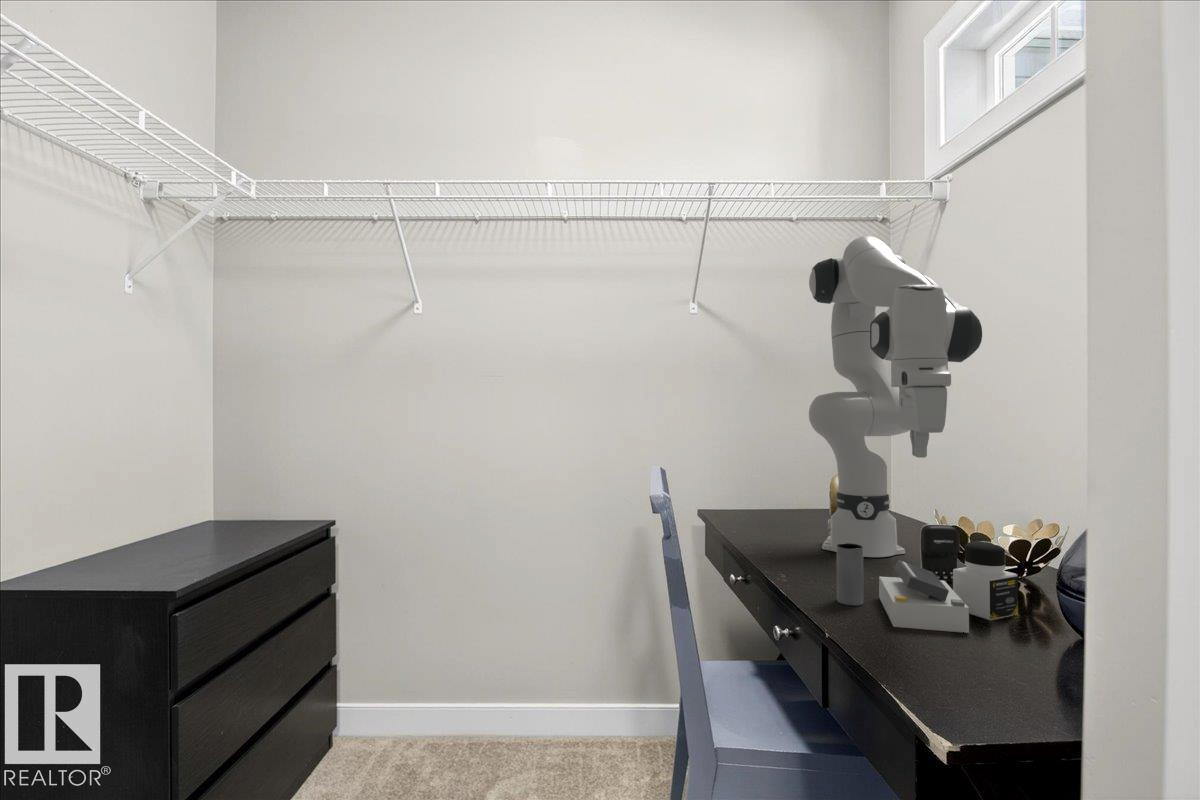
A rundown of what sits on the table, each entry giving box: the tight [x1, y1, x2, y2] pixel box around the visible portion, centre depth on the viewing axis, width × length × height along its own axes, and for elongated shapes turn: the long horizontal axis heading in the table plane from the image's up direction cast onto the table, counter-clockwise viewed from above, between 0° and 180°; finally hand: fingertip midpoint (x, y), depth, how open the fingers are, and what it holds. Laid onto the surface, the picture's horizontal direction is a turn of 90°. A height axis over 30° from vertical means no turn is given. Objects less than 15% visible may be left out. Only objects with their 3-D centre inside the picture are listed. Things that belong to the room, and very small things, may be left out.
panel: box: [878, 575, 970, 634], centre depth 112 cm, size 16×11×5 cm
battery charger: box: [919, 523, 961, 583], centre depth 132 cm, size 7×4×11 cm, turn 81°
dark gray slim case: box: [894, 559, 949, 601], centre depth 112 cm, size 12×6×2 cm, turn 164°
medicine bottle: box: [952, 540, 1019, 621], centre depth 113 cm, size 7×7×12 cm
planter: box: [836, 543, 864, 607], centre depth 118 cm, size 4×4×10 cm
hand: (919, 456), depth 112 cm, fingers closed
